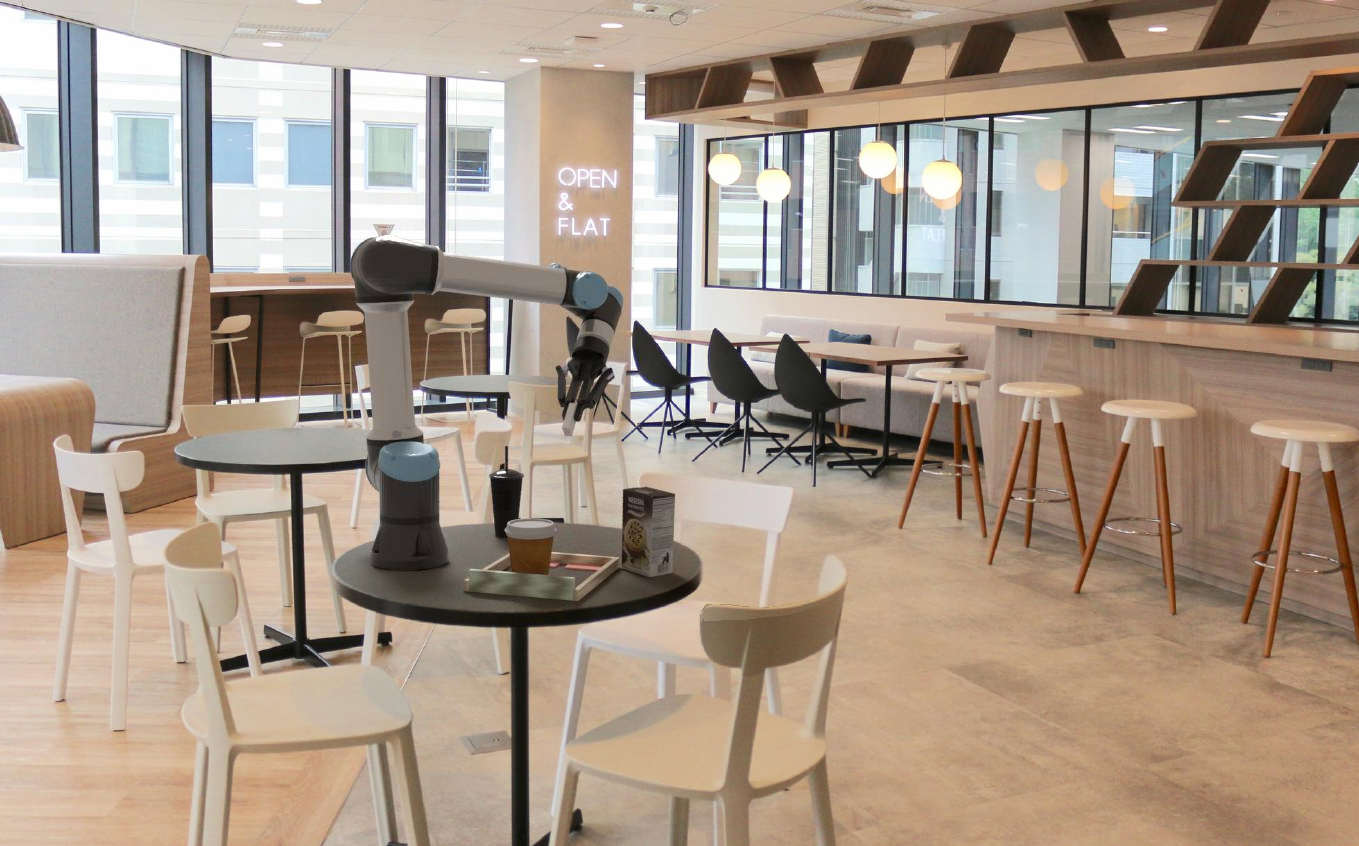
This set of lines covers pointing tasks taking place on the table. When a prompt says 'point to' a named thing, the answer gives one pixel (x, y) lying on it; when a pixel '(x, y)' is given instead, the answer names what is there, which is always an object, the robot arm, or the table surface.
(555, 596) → the light wooden rectangular frame
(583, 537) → the table surface
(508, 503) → the drinking cup
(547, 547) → the disposable coffee cup
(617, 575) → the table surface
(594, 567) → the mats
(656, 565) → the coffee box
